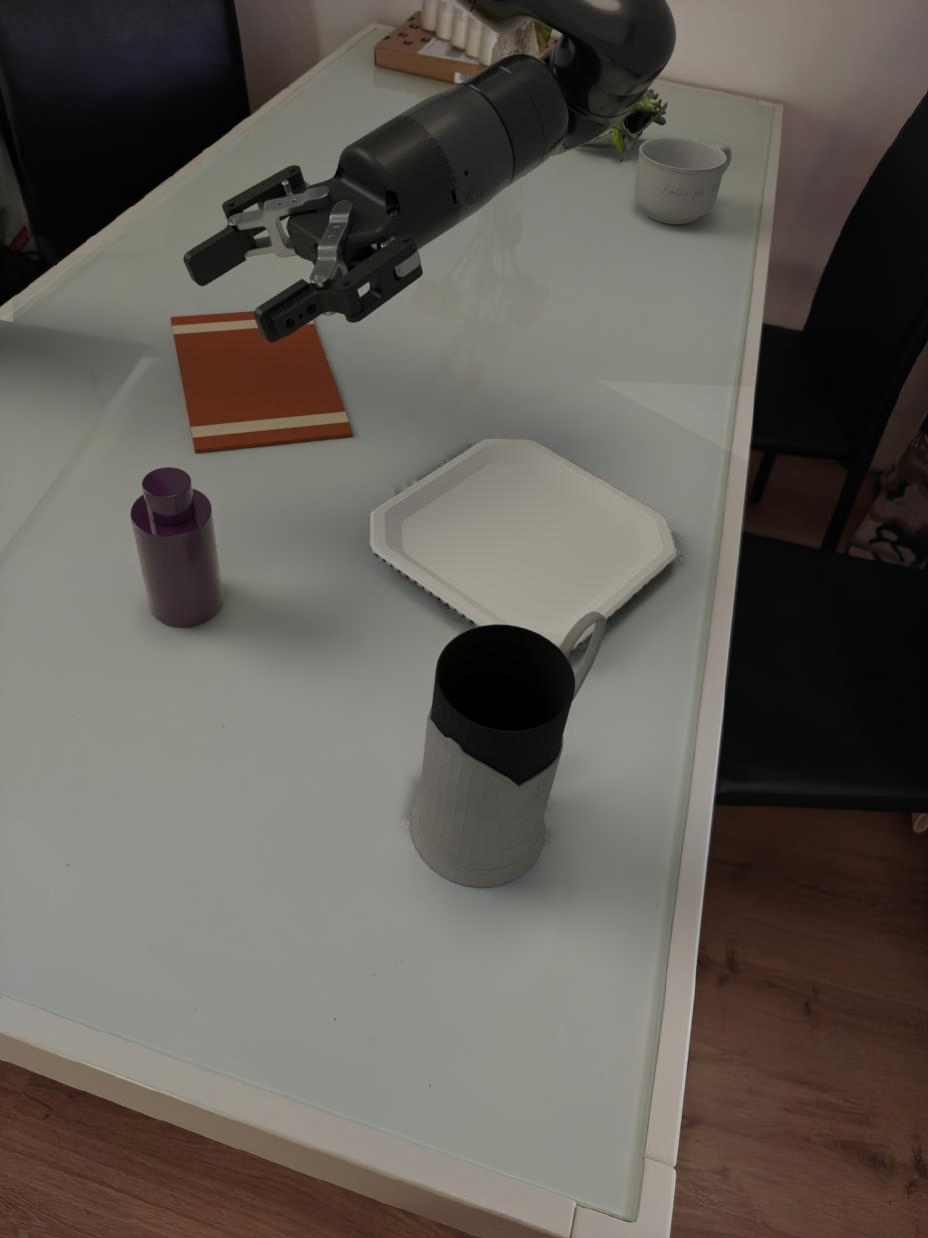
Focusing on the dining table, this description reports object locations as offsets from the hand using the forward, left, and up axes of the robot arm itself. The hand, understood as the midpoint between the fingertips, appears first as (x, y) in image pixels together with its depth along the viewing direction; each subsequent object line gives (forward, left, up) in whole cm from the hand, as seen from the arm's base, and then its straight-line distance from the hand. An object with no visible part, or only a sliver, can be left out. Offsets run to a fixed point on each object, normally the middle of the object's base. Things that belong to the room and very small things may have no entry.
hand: (224, 299), depth 61 cm
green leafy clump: (+23, +94, -23) cm, 99 cm away
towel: (-8, +26, -23) cm, 35 cm away
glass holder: (+22, -16, -23) cm, 36 cm away
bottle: (-4, -4, -23) cm, 24 cm away
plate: (+20, +8, -23) cm, 32 cm away
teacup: (+32, +77, -23) cm, 86 cm away
